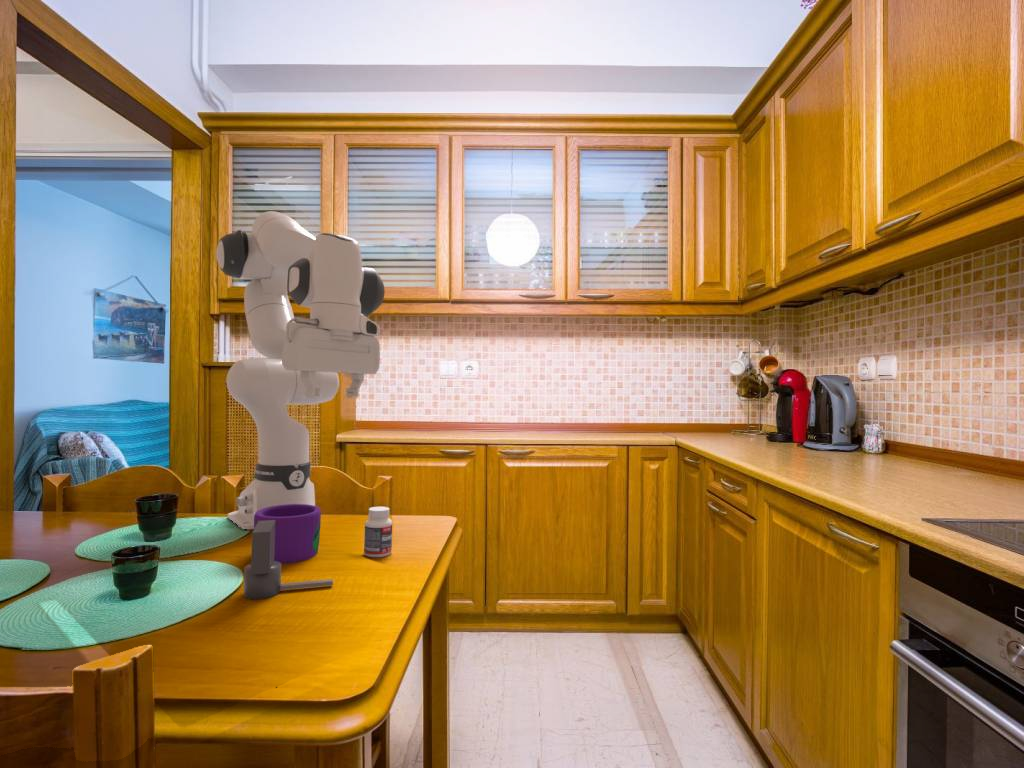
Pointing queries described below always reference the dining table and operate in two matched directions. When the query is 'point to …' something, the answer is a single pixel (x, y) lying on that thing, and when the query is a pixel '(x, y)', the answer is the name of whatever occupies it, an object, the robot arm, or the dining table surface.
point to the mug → (293, 530)
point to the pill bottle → (378, 533)
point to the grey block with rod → (268, 566)
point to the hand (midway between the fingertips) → (333, 397)
